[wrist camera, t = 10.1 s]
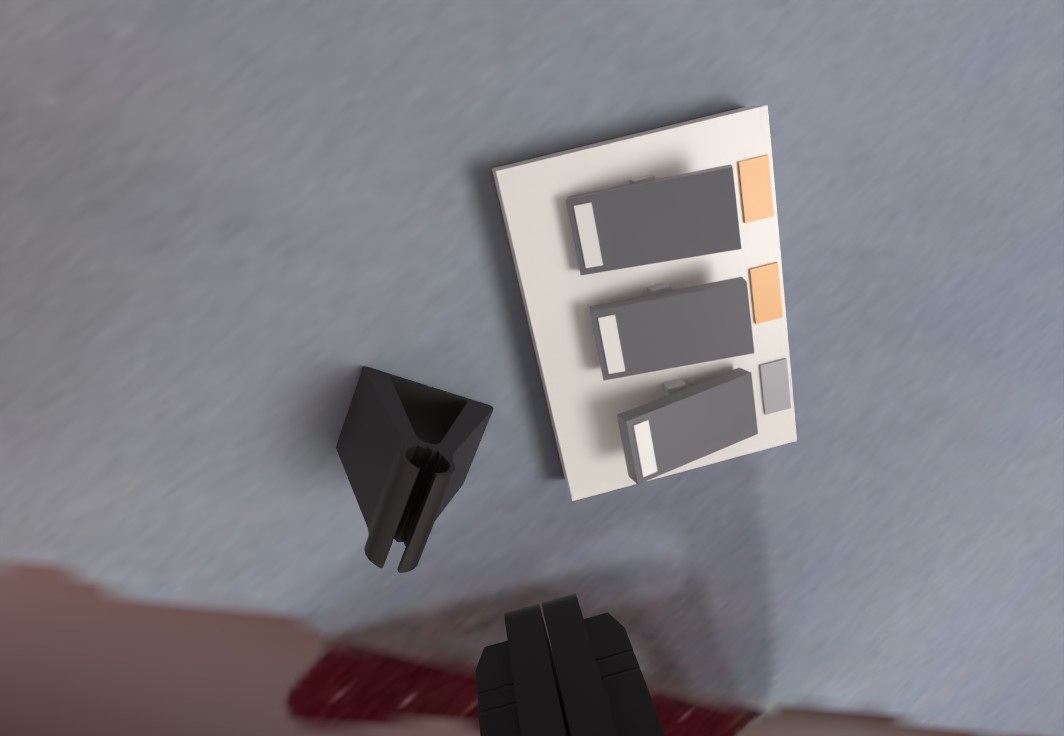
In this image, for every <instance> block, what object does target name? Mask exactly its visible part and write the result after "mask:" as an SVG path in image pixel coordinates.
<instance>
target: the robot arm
mask: <svg viewBox="0 0 1064 736" xmlns="http://www.w3.org/2000/svg"><path fill="white" fill-rule="evenodd" d="M542 607H543V612H544V616H545V621H546V625H547V630H548V634H549V639H550V642H549V639H548V635H547V631H546V628H545V624H544V620H543V617H542V613H541V609H540V606H539V604H536V605H533V606H529V607H525V608H522V609H518V610H515V611H511V612H507V613H505V614H504V616H505V624H506V631H507V639H508V641H505V642H501V643H497V644H494V645H490V646H487V647H485V648H484V650H483V653H482V655H481V658H480V660H479V663H478V666H477V668H476V679H477V693H478V707H479V715H480V717H479V721H480V735H481V736H665V733H664V730H663V728H662V725H661V723H660V720H659V717H658V715H657V712H656V709H655V707H654V704H653V701H652V699H651V696H650V693H649V691H648V688H647V685H646V683H645V680H644V677H643V675H642V672H641V670H640V667H639V664H638V662H637V659H636V656H635V654H634V652H633V648H632V646H631V643H630V640H629V638H628V635H627V632H626V630H625V628H624V627H623V626H622V625H621V624H620V623H619V622H618V621H617V620H616V619H614V618H613V617H612V616H611V615H610V614H609V613H604V614H601V615H597V616H594V617H590V618H586V619H583V616H582V613H581V610H580V606H579V603H578V599H577V596H576V594H572V595H568V596H565V597H561V598H557V599H554V600H550V601H547V602H543V603H542ZM550 643H551V646H550ZM551 648H552V650H551Z"/></svg>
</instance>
